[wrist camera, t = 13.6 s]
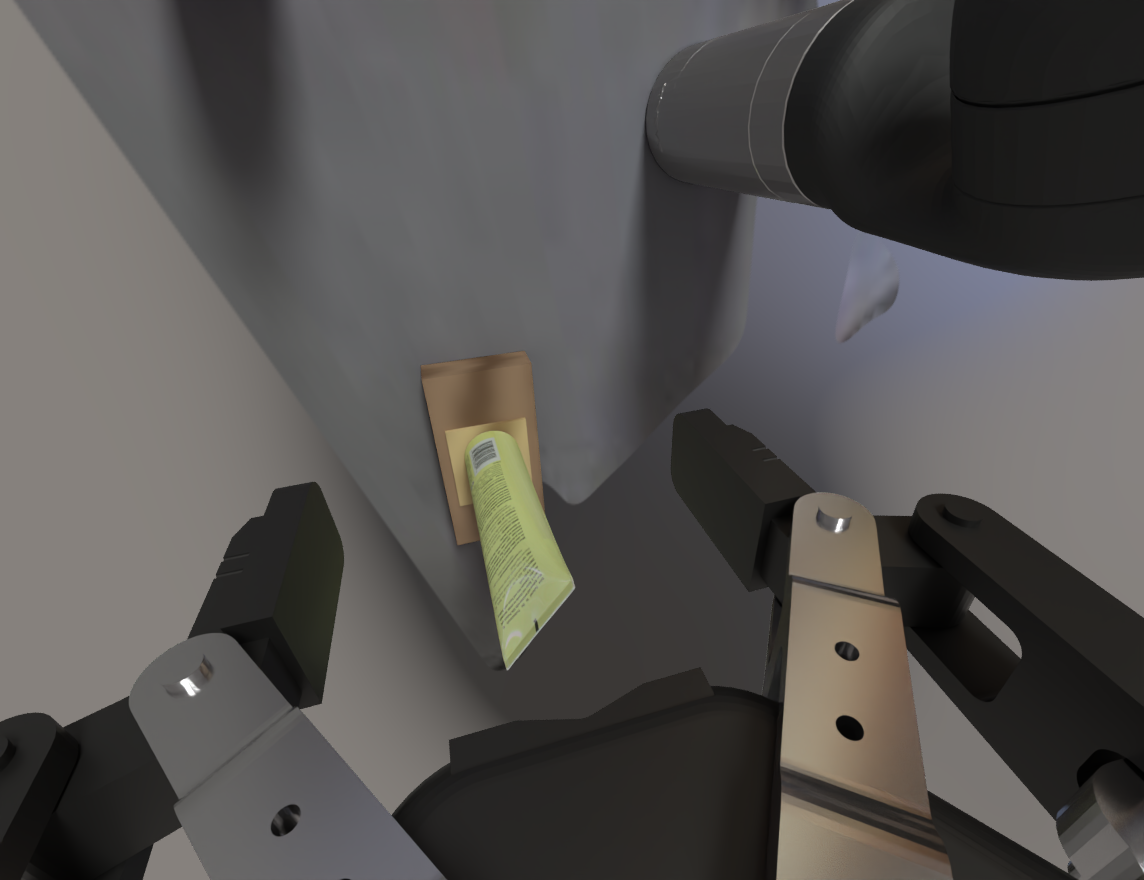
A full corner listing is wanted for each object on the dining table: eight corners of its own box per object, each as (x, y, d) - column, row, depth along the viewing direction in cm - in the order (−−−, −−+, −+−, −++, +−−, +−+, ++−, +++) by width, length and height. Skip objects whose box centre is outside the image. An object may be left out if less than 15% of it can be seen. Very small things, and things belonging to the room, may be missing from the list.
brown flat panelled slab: (524, 350, 45) (541, 382, 40) (539, 508, 55) (555, 552, 49) (420, 365, 44) (423, 401, 38) (455, 526, 53) (461, 574, 47)
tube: (524, 473, 48) (585, 647, 32) (471, 487, 47) (506, 673, 31) (514, 422, 45) (576, 587, 29) (456, 435, 44) (487, 613, 28)
